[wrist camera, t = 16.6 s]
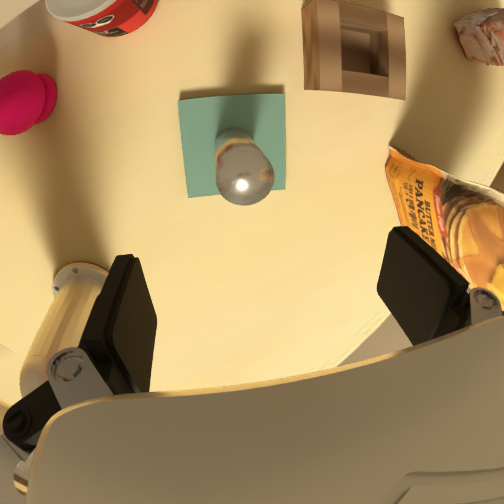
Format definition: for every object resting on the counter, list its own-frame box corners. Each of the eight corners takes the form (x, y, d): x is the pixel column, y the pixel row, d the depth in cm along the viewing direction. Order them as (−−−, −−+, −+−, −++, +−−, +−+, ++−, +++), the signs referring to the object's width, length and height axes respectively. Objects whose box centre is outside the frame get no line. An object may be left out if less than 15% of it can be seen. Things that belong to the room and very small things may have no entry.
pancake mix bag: (409, 122, 31) (603, 221, 7) (435, 231, 40) (549, 352, 17) (370, 143, 32) (571, 273, 8) (404, 252, 41) (513, 389, 18)
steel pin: (251, 126, 28) (274, 148, 18) (252, 162, 31) (274, 203, 20) (213, 129, 28) (213, 152, 18) (215, 165, 30) (218, 207, 20)
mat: (283, 186, 34) (285, 189, 33) (189, 194, 33) (188, 197, 32) (282, 93, 28) (284, 93, 27) (178, 100, 27) (177, 100, 26)
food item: (465, 68, 26) (515, 76, 18) (441, 21, 22) (492, 19, 14) (500, 42, 23) (543, 48, 14) (480, 1, 19) (524, 1, 11)
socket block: (381, 96, 29) (405, 100, 24) (304, 89, 28) (320, 90, 24) (380, 22, 23) (403, 17, 19) (301, 9, 22) (316, -3, 18)
